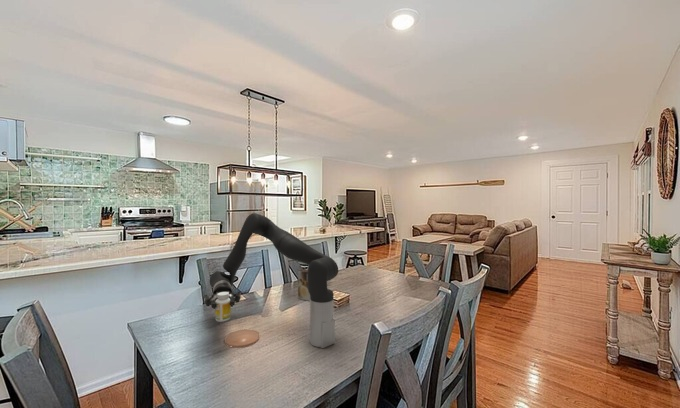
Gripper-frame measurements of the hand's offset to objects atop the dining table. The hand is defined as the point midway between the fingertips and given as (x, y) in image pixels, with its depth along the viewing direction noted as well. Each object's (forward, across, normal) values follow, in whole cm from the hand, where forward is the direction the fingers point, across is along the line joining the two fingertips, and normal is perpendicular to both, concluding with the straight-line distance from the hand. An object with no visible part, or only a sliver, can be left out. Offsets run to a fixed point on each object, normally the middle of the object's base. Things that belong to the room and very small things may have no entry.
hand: (223, 305), depth 110 cm
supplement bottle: (-3, 0, +6) cm, 7 cm away
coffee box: (-45, +45, +18) cm, 66 cm away
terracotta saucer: (-8, +7, +18) cm, 21 cm away
